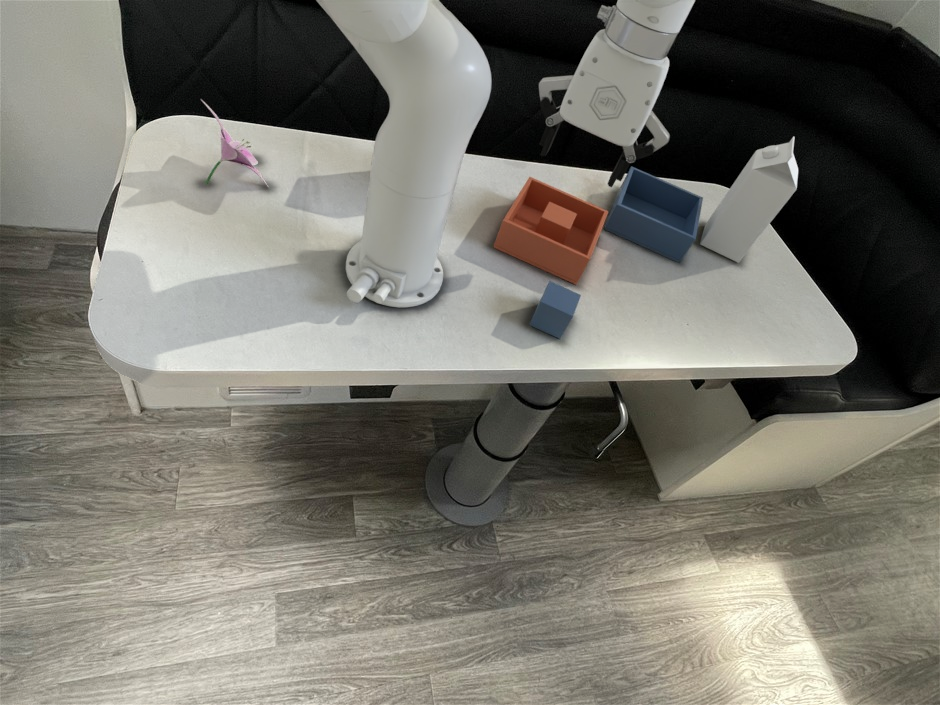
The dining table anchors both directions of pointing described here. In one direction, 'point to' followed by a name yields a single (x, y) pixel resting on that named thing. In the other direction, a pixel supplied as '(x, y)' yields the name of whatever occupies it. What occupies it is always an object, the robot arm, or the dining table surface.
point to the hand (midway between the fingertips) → (577, 166)
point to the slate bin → (655, 214)
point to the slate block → (555, 310)
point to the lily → (233, 151)
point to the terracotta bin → (541, 250)
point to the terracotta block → (555, 222)
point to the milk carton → (752, 201)
